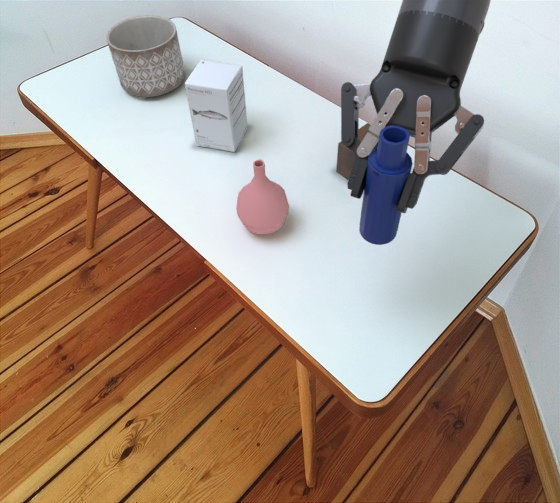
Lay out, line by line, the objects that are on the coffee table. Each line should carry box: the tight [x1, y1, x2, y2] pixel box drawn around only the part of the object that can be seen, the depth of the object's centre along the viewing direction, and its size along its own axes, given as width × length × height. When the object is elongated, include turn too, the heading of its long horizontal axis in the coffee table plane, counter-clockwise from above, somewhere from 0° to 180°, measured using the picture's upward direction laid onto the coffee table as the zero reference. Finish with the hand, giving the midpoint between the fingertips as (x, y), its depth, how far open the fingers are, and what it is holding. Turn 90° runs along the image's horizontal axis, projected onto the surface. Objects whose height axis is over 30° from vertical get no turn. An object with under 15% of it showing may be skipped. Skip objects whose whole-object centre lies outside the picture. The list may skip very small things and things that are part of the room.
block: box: [335, 122, 372, 181], centre depth 82 cm, size 7×7×6 cm
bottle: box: [358, 125, 413, 246], centre depth 50 cm, size 4×4×13 cm
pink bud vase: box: [235, 159, 290, 235], centre depth 73 cm, size 8×8×12 cm
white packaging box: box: [184, 59, 248, 153], centre depth 86 cm, size 7×7×13 cm
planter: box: [105, 14, 186, 98], centre depth 98 cm, size 13×13×10 cm
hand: (378, 203), depth 50 cm, fingers closed on bottle, 4 cm apart
